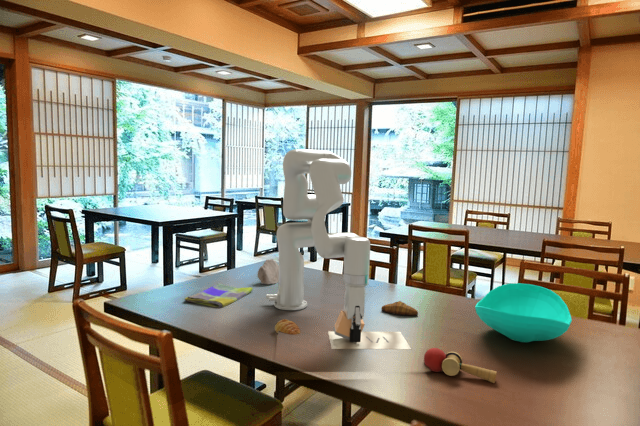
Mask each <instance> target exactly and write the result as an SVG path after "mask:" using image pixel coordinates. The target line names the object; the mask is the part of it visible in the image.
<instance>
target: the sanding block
mask: <svg viewBox="0 0 640 426" xmlns="http://www.w3.org/2000/svg"><path fill="white" fill-rule="evenodd" d="M338 314H339V315H338V316H337V319H336V321H335V323H334V326H333V331H334V333H335V335H338V336H341V337H343V338H346V339H348V340H350V328H351V319H349V320H348V319H347V318H346V315H345V312H344V310H340V312H339V313H338ZM353 318H355V316H353ZM354 322H355V321H353V323H354ZM365 325H366V324H365V322H364V318H363V319H362V320H361V332H363V329H364V327H365ZM356 343H357V342H356Z"/></svg>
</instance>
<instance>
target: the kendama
mask: <svg viewBox="0 0 640 426" xmlns="http://www.w3.org/2000/svg"><path fill="white" fill-rule="evenodd" d="M423 363H424V365H425V367H427V368H428V369H429V371H431V372H434V373H436V372H437V373H438V372H439V373H440V372H444V374H445V375H447V376H451V377H452V376H456V375H458V374H459V372H460V370H461V371H462V372H465V373H466V374H469V375H472V376H475V377H478V378H480V379H483V380H484V381H488V382H490V383H492V384H495V383H496V381H497V380H496V379H497V373H498V371H495V370H492V369H488V368H487V369H486V368H484V367H480V366H476V365H471V364H466V363H463V358H462V356H461V355H460V353H458V352H456V351H448V352H447V353H445V352H444V351H443V350H442V349H440V348H438V347H431V348H428V349H427V350H426V351H425V353H424V357H423Z"/></svg>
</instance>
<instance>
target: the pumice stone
mask: <svg viewBox="0 0 640 426" xmlns="http://www.w3.org/2000/svg"><path fill="white" fill-rule="evenodd" d="M257 278H258V280H259V281H260V282H261V284H262V285H274V284H278V278H279V262H277V261H276V260H274V259H273V258H271V259H270V258H269V259H266V260H265V261H264V262H263V264H262V266H261V265H260V267H259V268H258V270H257Z"/></svg>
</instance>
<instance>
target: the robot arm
mask: <svg viewBox="0 0 640 426" xmlns="http://www.w3.org/2000/svg"><path fill="white" fill-rule="evenodd" d="M282 170H283V176H284V189H283V203H282V212H283V217H284V218H285V219H287V220H291V221H301V220H302V221H303V220H304V221H305V222H286V223H284V224H281V225H280V226H278V228H277V230H276V241H277V247H278V266H279V278H278V283H277V284H278V286H277V290H278V291H277V292H276V293H274V294H271V293H270V294H269V293H267V294H266V297H265V298H266V299H265V300H268V301H269V302H270V301H271V302H273V306H274V307H275V308H276V309H279V310H281V311H300V310H303V309H305V308H307V306H308V301H306V300H305V299H304V286H305V285H304V279H305V277H304V276H305V259H304V257H303V255H302V253H301V252H300V250H299V249H302V248H312V247H313V248H315V250H316V252H317V254H318V256H320V257H321V258H322V259H338V258H343V276H342V282H343V284H344V285H345V288H344V289H345V290H344V305H343V311H344V312H345V315H346V318H347V319H348V320H349V319H351V328H350V342H360V341H361V320H362V319H363V320H364V317H365V304H366V303H365V301H366V299H365V298H366V287H368V286H369V282H370V281H369V280H370V261H371V260H370V259H371V258H370V257H371V241H370V239H369V238H368V237H365V236H360V235H358V234H356V233H354V232H333V233H332V232H331V233H328V231H327V228H326V221H325V220H326V215H327V214H329V213H330V212H333V211H335V210H337V209H338V208H340V207H341V206H342V205H343V203H344V195H343V193H342V189H341V186H340V185H346V184H348V183H349V182H350V181H351V177H352V169H351V166H350V164H349V163H348V162H347V160H346V159H344V158H343V157H342V156H339V155H338V154H336V153H334V152H332V151H329V150H325V149H324V150H321V149H320V150H319V149H309V148H307V149H306V148H296V149H295V148H293V149H291V150H289V151H287V152H286V154H284V157H283V161H282ZM306 174H307V175H308V174H309V177H310V178H309V179H310V181H311V185H312V189H313V192H314V194H313V193H311V194H310V193H309V194H308V191H309V182H308V181H309V180H308V179H307V177H306ZM306 220H307V221H306ZM353 316H355V318H353ZM353 321H355V322H354V323H353Z"/></svg>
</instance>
